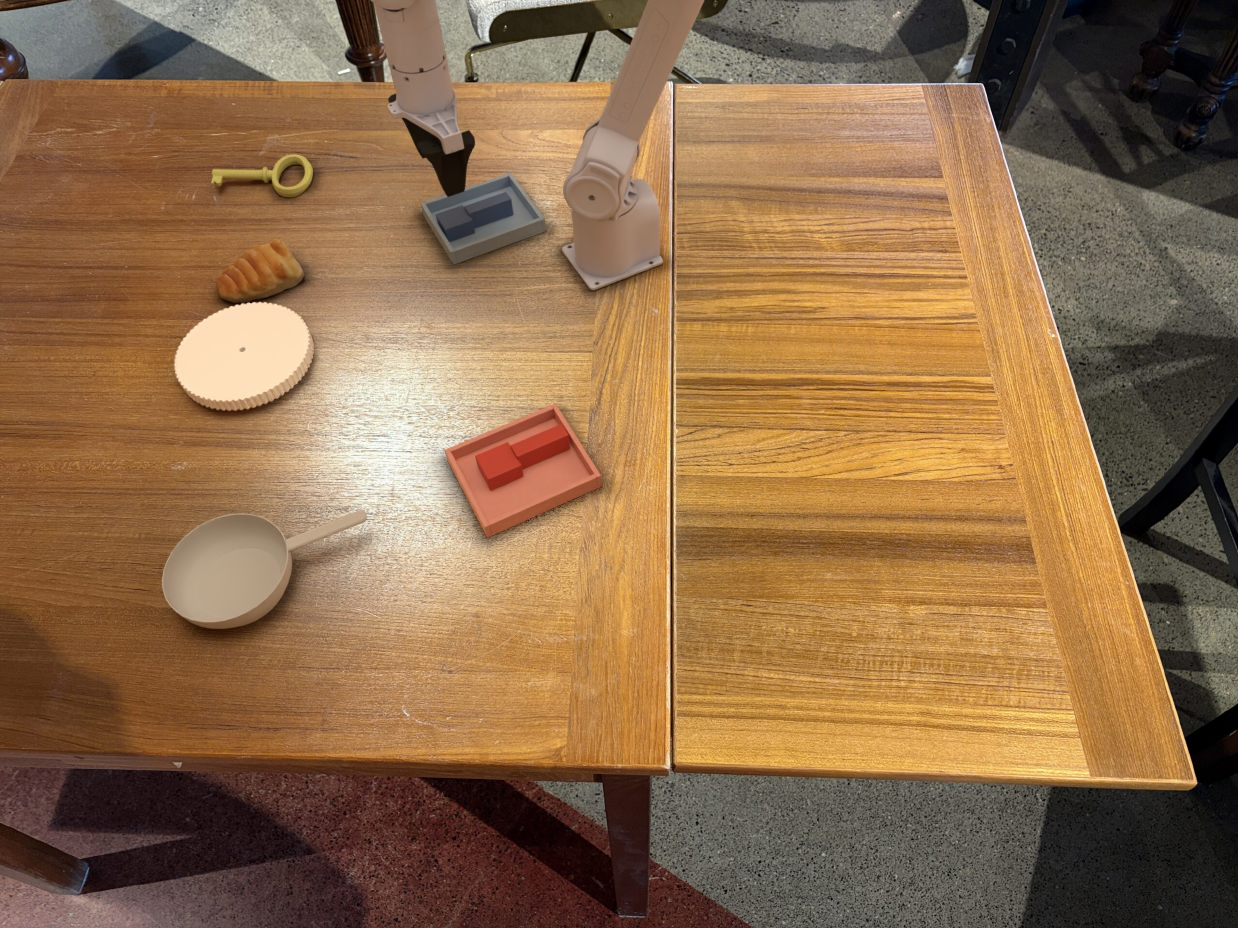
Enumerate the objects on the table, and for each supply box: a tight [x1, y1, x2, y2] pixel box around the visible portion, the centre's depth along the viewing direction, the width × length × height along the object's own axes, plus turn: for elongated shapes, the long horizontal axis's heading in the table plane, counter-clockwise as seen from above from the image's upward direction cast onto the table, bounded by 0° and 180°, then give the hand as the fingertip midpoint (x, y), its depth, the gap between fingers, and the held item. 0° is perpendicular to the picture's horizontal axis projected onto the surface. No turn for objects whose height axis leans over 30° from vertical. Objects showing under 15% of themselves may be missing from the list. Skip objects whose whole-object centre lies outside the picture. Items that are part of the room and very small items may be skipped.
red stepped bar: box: [475, 424, 570, 491], centre depth 87 cm, size 9×3×2 cm, turn 118°
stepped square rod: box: [436, 192, 514, 242], centre depth 107 cm, size 9×3×2 cm, turn 118°
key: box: [210, 153, 314, 198], centre depth 113 cm, size 7×12×2 cm, turn 113°
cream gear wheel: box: [173, 301, 315, 412], centre depth 95 cm, size 14×14×2 cm
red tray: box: [444, 403, 603, 539], centre depth 86 cm, size 12×10×2 cm
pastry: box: [216, 238, 305, 304], centre depth 102 cm, size 9×7×4 cm
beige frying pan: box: [161, 509, 368, 630], centre depth 80 cm, size 11×18×4 cm, turn 114°
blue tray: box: [419, 172, 547, 265], centre depth 108 cm, size 12×10×2 cm
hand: (442, 173), depth 99 cm, fingers open, 7 cm apart
